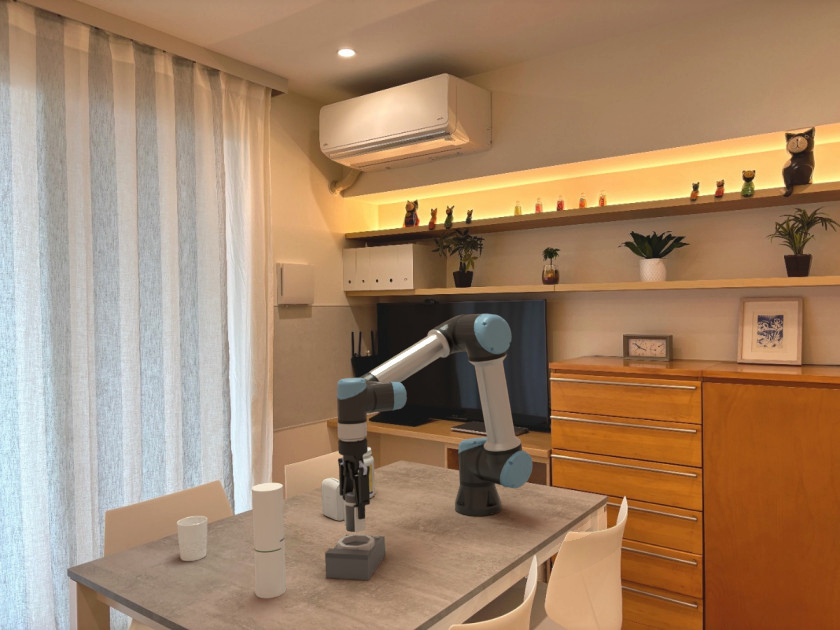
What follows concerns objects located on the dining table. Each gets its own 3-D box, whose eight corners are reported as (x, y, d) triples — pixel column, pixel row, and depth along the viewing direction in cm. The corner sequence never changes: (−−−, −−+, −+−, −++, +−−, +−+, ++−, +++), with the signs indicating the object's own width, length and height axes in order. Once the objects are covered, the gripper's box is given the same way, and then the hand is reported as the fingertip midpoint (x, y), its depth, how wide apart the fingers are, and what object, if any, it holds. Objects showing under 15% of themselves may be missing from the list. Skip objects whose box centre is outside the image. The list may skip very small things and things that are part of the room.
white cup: (180, 564, 166) (178, 527, 166) (176, 554, 173) (175, 519, 173) (210, 558, 170) (209, 521, 170) (206, 549, 177) (205, 513, 177)
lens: (368, 525, 164) (367, 491, 164) (362, 532, 159) (361, 497, 159) (349, 524, 165) (348, 490, 165) (343, 531, 160) (342, 496, 160)
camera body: (346, 552, 171) (345, 528, 171) (385, 554, 169) (384, 530, 168) (325, 577, 155) (325, 551, 155) (368, 580, 153) (367, 553, 153)
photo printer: (320, 514, 204) (319, 477, 203) (331, 511, 206) (330, 474, 206) (337, 522, 196) (335, 483, 195) (348, 519, 198) (347, 480, 198)
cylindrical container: (291, 586, 151) (288, 483, 150) (275, 600, 144) (272, 492, 144) (266, 583, 153) (262, 481, 153) (249, 596, 146) (245, 490, 146)
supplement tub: (345, 491, 229) (344, 445, 229) (378, 491, 227) (376, 445, 227) (336, 501, 217) (335, 453, 217) (371, 501, 215) (369, 453, 215)
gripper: (382, 441, 156) (385, 534, 156) (349, 431, 171) (352, 515, 171) (355, 446, 152) (358, 541, 152) (324, 434, 167) (327, 521, 167)
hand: (355, 527), depth 162 cm, fingers closed on lens, 5 cm apart
